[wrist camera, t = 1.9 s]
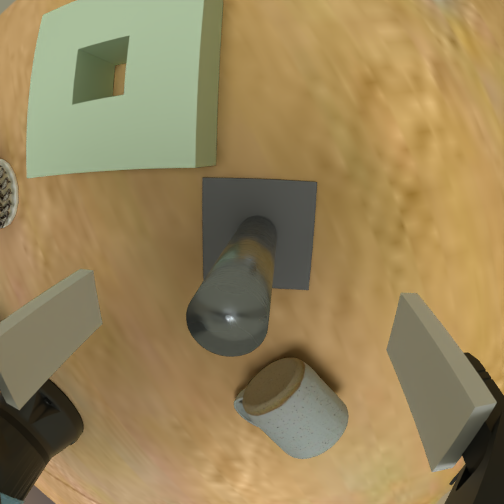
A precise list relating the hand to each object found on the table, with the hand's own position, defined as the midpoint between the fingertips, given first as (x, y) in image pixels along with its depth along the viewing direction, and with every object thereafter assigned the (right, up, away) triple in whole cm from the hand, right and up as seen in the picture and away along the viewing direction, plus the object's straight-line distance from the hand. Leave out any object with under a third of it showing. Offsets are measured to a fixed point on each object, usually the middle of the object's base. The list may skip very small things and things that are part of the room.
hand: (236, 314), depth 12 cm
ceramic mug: (+4, -12, +18) cm, 22 cm away
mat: (+1, +4, +13) cm, 14 cm away
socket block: (-9, +17, +10) cm, 22 cm away
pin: (+1, +4, +13) cm, 14 cm away
